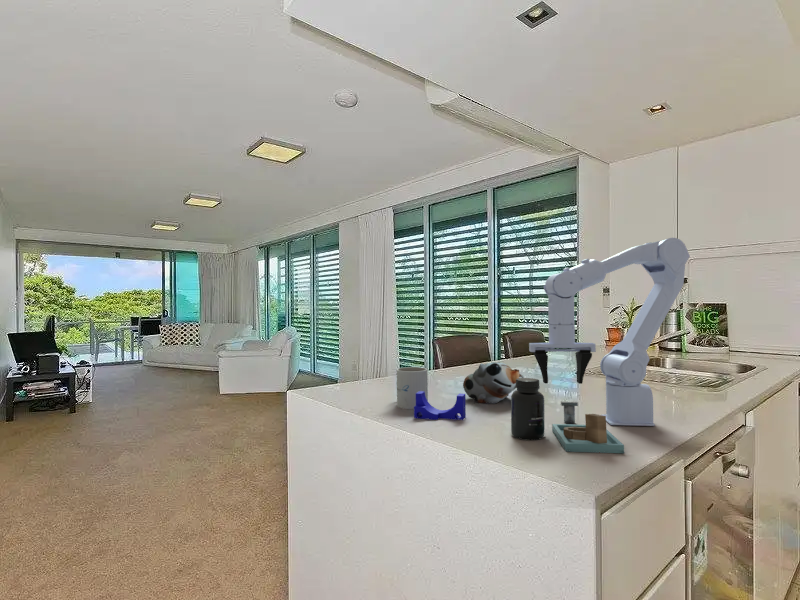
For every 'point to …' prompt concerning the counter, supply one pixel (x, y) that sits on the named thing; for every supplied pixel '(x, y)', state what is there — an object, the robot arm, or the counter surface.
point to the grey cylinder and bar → (569, 411)
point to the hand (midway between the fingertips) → (562, 382)
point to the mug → (410, 385)
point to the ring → (589, 430)
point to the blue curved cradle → (429, 412)
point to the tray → (587, 442)
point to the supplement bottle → (527, 410)
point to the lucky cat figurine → (491, 382)
